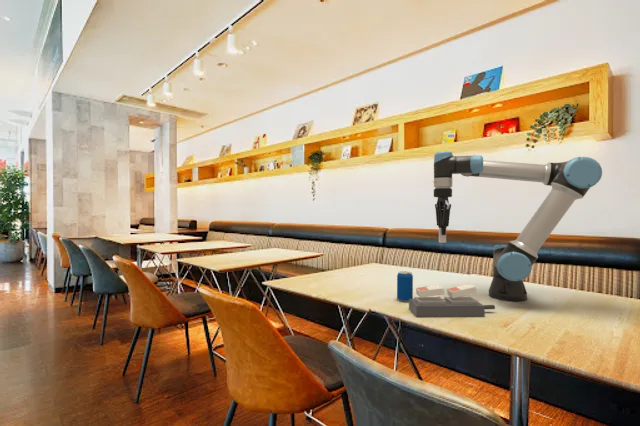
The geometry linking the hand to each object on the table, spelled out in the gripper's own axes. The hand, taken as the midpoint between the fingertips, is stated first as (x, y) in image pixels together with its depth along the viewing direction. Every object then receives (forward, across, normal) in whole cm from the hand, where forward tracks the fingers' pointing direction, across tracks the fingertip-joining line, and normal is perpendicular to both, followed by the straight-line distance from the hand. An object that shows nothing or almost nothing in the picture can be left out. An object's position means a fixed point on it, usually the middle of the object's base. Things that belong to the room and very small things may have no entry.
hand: (442, 242), depth 153 cm
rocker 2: (+17, +20, 0) cm, 27 cm away
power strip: (+24, +20, -3) cm, 32 cm away
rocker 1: (+17, +20, -12) cm, 29 cm away
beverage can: (+25, +3, -17) cm, 30 cm away
